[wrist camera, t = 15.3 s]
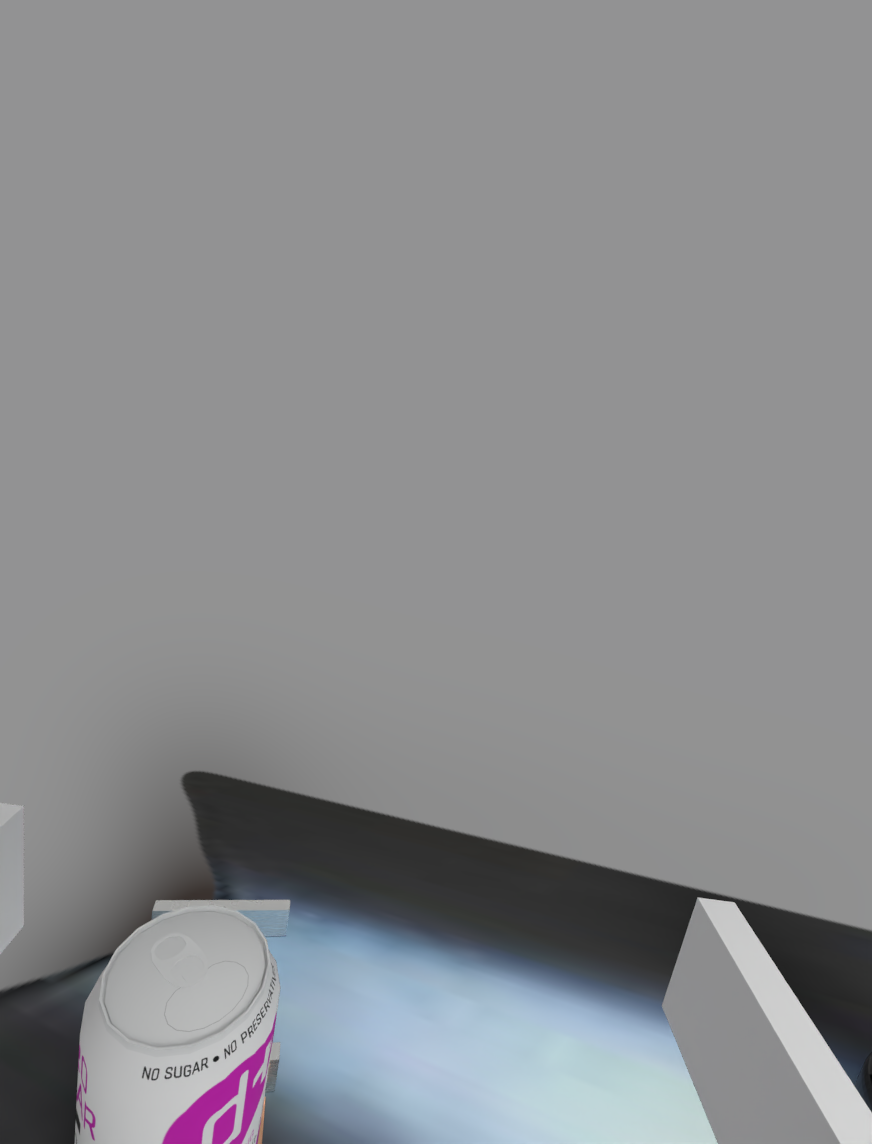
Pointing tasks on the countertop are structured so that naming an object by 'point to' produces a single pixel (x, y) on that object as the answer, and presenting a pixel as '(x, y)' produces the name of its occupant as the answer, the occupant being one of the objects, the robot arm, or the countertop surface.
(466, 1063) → the countertop surface
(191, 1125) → the sparkling water can
